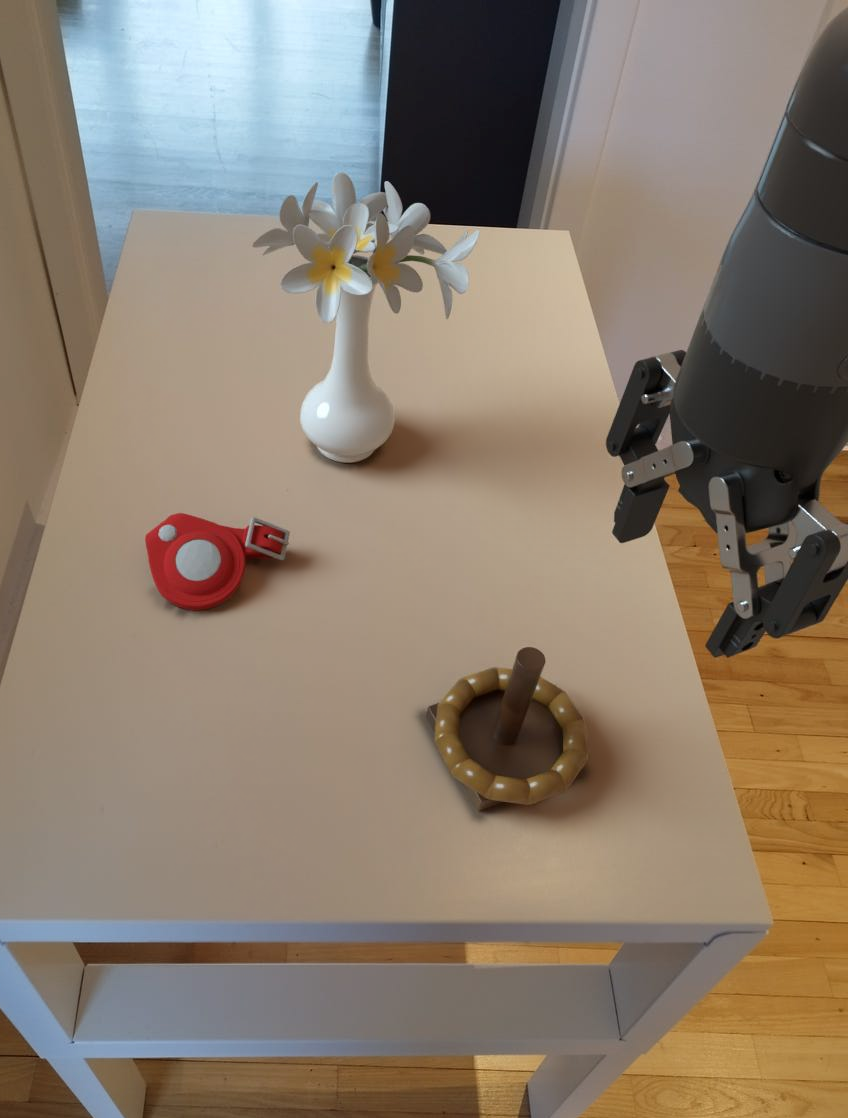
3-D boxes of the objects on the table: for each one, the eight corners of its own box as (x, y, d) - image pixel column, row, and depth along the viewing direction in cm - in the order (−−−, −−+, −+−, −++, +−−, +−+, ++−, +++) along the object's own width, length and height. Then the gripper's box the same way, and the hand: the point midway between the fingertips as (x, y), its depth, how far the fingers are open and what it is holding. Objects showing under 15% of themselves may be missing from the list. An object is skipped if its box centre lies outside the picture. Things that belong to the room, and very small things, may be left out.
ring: (536, 660, 75) (541, 647, 73) (612, 776, 69) (619, 765, 67) (409, 702, 72) (411, 689, 70) (476, 829, 65) (480, 818, 64)
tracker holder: (194, 625, 75) (115, 543, 77) (200, 641, 80) (125, 563, 81) (301, 533, 78) (223, 457, 80) (301, 553, 83) (227, 481, 84)
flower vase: (454, 477, 90) (499, 235, 70) (267, 491, 87) (258, 243, 67) (427, 394, 97) (460, 154, 77) (254, 404, 95) (242, 158, 75)
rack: (522, 682, 75) (553, 593, 66) (580, 771, 70) (621, 689, 61) (425, 716, 73) (443, 628, 64) (478, 811, 68) (505, 731, 59)
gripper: (1013, 407, 33) (818, 668, 46) (762, 216, 41) (655, 485, 54) (855, 458, 31) (697, 715, 44) (621, 246, 39) (546, 519, 51)
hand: (674, 589), depth 49 cm, fingers open, 8 cm apart
